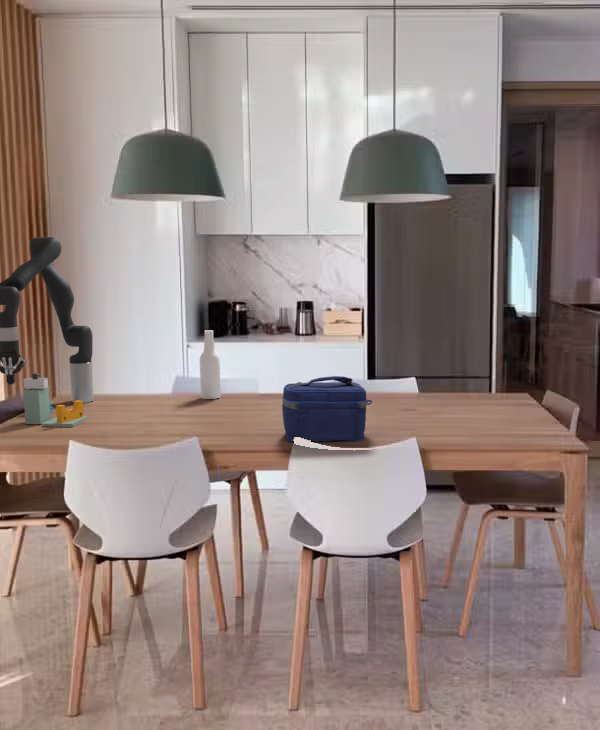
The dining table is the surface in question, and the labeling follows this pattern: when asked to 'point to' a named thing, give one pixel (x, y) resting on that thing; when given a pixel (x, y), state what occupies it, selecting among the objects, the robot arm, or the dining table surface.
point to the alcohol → (210, 369)
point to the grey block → (35, 382)
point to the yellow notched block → (69, 412)
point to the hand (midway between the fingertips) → (11, 384)
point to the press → (42, 409)
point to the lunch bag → (325, 410)
